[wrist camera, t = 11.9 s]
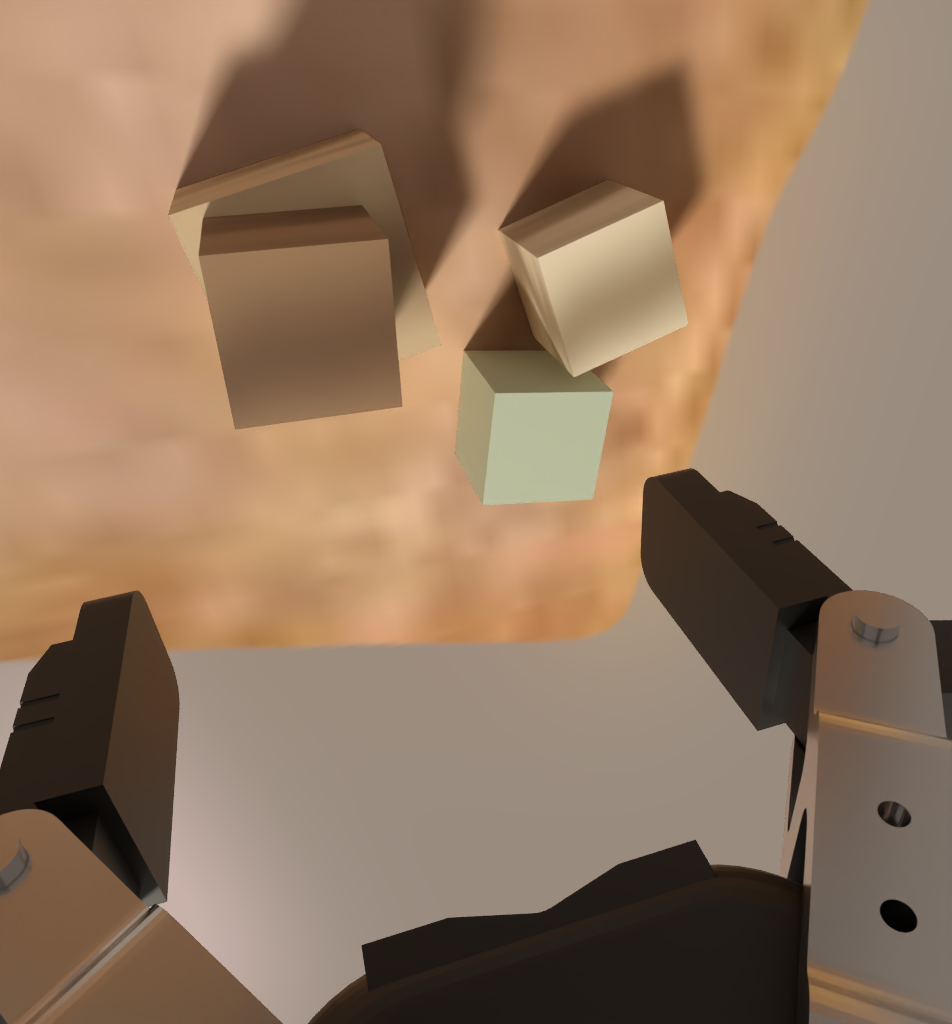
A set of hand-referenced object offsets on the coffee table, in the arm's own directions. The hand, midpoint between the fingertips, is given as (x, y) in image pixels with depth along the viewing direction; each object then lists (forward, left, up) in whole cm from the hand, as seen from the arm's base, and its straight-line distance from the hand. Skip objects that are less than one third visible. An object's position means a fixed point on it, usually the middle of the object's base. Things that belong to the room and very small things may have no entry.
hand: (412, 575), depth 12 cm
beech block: (+2, +11, -22) cm, 25 cm away
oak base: (0, 0, -22) cm, 22 cm away
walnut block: (0, -1, -17) cm, 17 cm away
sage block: (+8, +8, -22) cm, 25 cm away
